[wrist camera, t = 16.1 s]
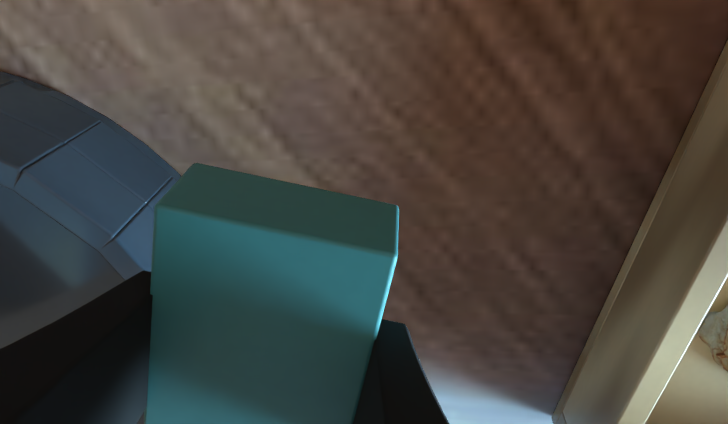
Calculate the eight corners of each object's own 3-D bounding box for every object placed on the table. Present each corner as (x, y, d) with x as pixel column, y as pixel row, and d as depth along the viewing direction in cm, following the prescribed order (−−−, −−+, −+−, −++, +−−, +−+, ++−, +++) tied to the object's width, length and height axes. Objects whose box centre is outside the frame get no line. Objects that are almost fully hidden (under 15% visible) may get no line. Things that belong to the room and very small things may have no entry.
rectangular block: (343, 431, 14) (333, 506, 12) (174, 397, 14) (139, 467, 12) (400, 204, 11) (399, 255, 9) (193, 160, 11) (152, 203, 9)
